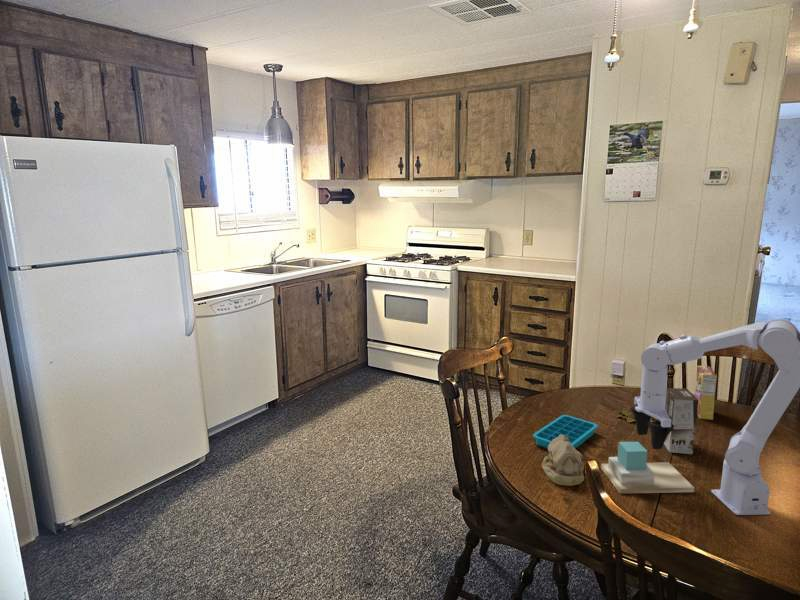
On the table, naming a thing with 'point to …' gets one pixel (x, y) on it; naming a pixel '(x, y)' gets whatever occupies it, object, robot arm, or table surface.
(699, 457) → the table surface
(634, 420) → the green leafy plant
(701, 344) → the robot arm
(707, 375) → the candy box
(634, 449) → the teal cube
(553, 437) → the ice cube tray
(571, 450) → the ceramic model
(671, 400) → the coffee box
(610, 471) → the stacking base
